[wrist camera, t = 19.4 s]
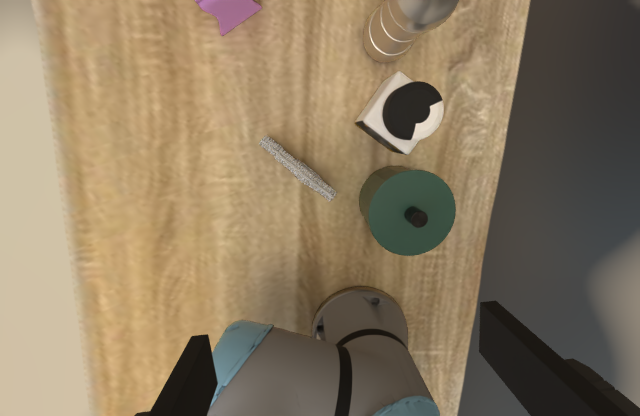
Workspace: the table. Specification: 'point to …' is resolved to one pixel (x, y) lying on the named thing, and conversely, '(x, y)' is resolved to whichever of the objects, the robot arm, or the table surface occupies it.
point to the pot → (375, 186)
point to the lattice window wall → (298, 168)
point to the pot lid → (411, 212)
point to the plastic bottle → (402, 25)
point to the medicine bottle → (402, 113)
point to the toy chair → (229, 11)
